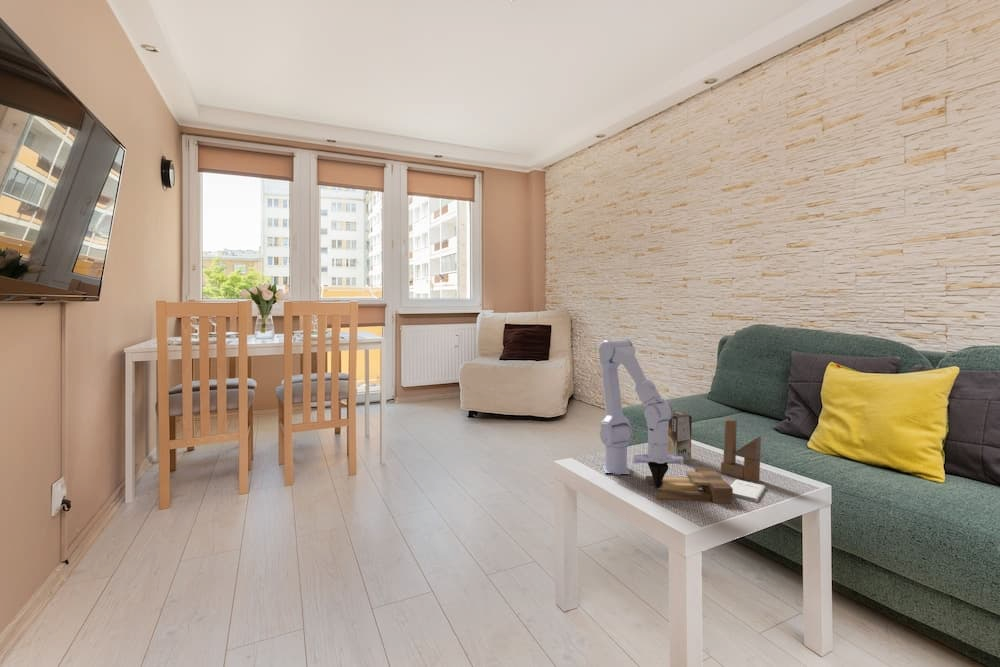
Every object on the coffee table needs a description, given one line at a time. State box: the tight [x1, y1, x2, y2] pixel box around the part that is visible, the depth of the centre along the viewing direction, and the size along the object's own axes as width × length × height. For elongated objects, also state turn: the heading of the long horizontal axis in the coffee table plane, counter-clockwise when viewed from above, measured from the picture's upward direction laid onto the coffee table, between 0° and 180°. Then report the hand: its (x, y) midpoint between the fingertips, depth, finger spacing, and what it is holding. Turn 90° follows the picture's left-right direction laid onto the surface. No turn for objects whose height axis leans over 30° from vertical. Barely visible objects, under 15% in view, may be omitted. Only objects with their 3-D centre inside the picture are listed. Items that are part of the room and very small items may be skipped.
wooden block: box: [720, 418, 762, 483], centre depth 148 cm, size 4×11×18 cm, turn 39°
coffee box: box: [668, 410, 693, 462], centre depth 167 cm, size 9×6×16 cm
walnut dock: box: [645, 467, 733, 504], centre depth 137 cm, size 16×20×4 cm
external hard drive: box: [730, 479, 766, 503], centre depth 136 cm, size 2×8×12 cm
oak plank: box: [659, 476, 700, 492], centre depth 138 cm, size 6×10×3 cm, turn 85°
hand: (657, 486), depth 138 cm, fingers closed
